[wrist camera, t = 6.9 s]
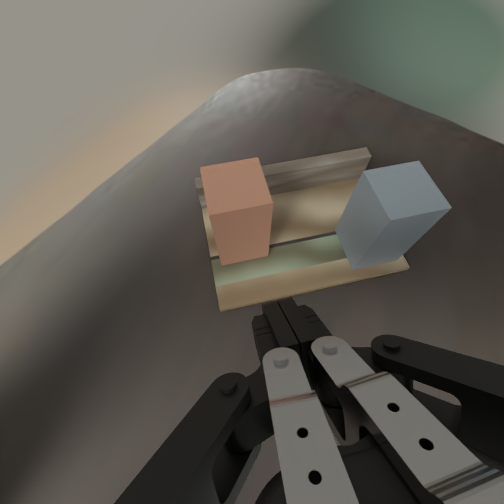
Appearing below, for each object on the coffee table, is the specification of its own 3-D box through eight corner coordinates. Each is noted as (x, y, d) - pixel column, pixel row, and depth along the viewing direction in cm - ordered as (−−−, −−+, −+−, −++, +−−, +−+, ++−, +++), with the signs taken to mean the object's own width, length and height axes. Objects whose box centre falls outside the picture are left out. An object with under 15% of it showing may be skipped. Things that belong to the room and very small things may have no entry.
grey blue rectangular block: (397, 260, 29) (451, 207, 21) (352, 270, 28) (390, 220, 20) (376, 221, 31) (418, 160, 23) (334, 229, 31) (362, 171, 23)
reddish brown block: (268, 255, 29) (273, 203, 21) (221, 265, 29) (208, 215, 21) (257, 217, 31) (257, 157, 23) (213, 226, 31) (199, 167, 23)
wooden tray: (407, 269, 29) (428, 251, 25) (220, 311, 27) (215, 298, 24) (354, 172, 35) (366, 147, 32) (200, 201, 34) (194, 177, 30)
